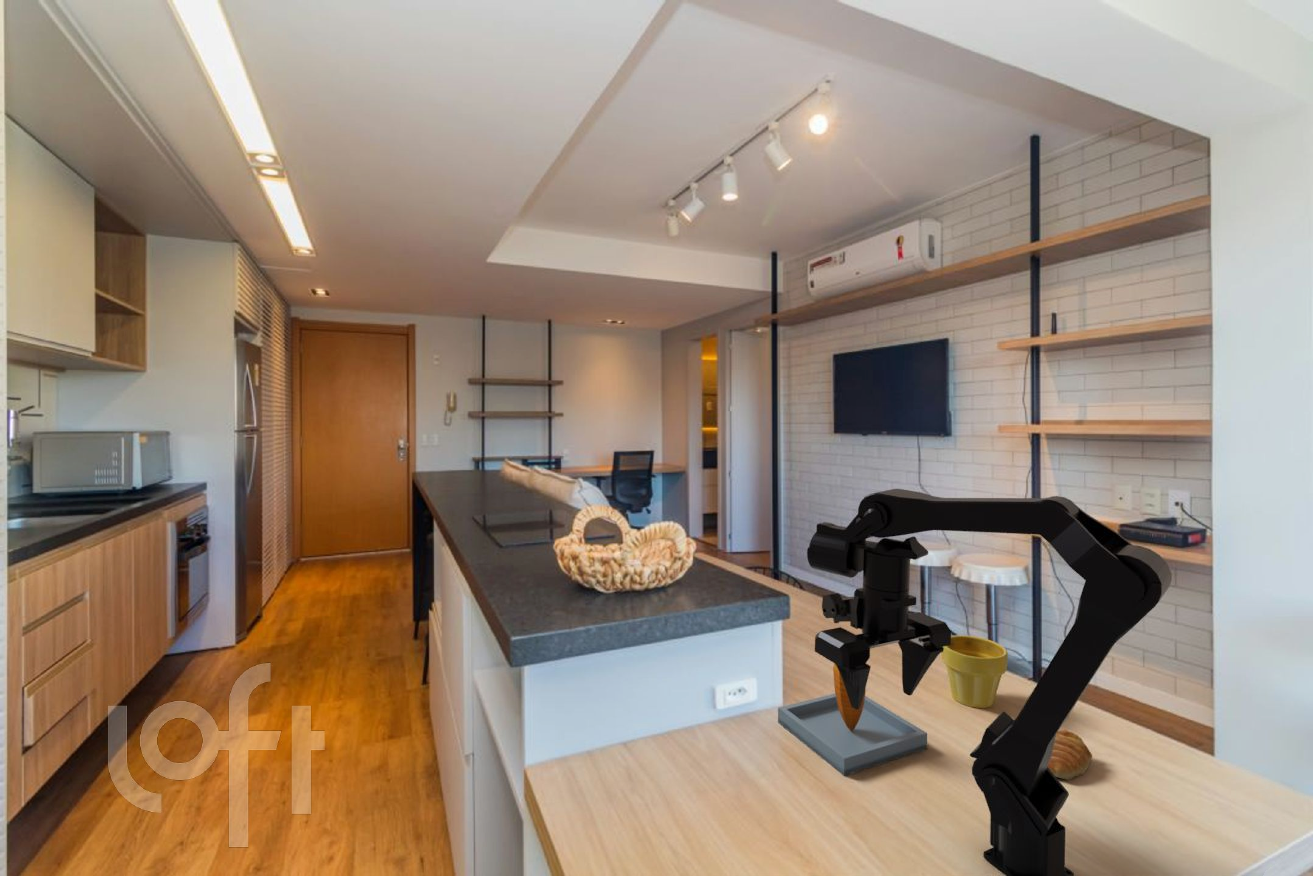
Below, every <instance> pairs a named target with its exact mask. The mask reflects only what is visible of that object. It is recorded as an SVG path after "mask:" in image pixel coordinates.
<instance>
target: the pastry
mask: <svg viewBox="0 0 1313 876" xmlns="http://www.w3.org/2000/svg"><path fill="white" fill-rule="evenodd" d="M1092 759H1093V754H1092V752H1091V751H1090V750H1089V748H1088V746H1087V745H1086V743H1084V741H1083V739H1082V737H1080V736H1079V735H1078V734H1076V733H1074V732H1072V731H1069V730H1067V729H1062V728H1060V729H1059V730H1058V732H1057V734H1056V737H1055V741H1054V746H1053V751H1052V755H1051V758H1050V761H1049V764H1048V768H1049V770H1050V771H1051V772H1052V773H1053V774H1054V776H1055V777H1056V778H1060V779H1062V780H1066V781H1069V780H1071V779H1072V778H1076V777H1078V776H1079V777H1080V776H1083V775H1084V774H1085V772H1086V770H1087V768H1089V765H1090V762H1091V761H1092Z"/></svg>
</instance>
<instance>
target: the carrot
mask: <svg viewBox="0 0 1313 876" xmlns="http://www.w3.org/2000/svg"><path fill="white" fill-rule="evenodd" d="M832 670H833V672H832V673H833V685H834V686H833V687H834V694H836V699H837V704H838V708H839V711H840V714H841V716H842V719H843V720H844V722H845V724H846V726H847V728H848V729H849V730H851V731H852V730H854V729H855V727H856V725H857V723H858V721H859V719H860V716H861V714H862V710H863V705H864V700H865V696H866V688H865V692H864V696H863V700H862V703H861V706H860V709H858V710H856V709H855V708H853V707H852V706H851V704H850V701H849V698H848V695H847V692H846V689H845V686H844V683H843V680H842V677H841V674H840V672H839V670H838V668H837V666H836V665H835V663H833V669H832Z"/></svg>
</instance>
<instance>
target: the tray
mask: <svg viewBox="0 0 1313 876" xmlns="http://www.w3.org/2000/svg"><path fill="white" fill-rule="evenodd" d="M777 723H778V724H780V726H782V727H783V728H784V729H786V730H787V731H788V732H789V733H791V734H792V735H793V736H794V737H796V738H797V739H798V740H799V741H801V742H802V743H803V744H804V745H806V746H807V747H808V748H809V749H811V751H813V752H814V753H815V754H817V755H818V756H819V757H820V758H822V760H824V761H825V762H827V764H829V765H830V766H831V767H832V768H833V769H835V770H837V771H838V772H839V773H840V774H841V775H842V776H844V777H845V776H847V775H850V774H854V773H858V772H860V771H863V770H866V769H870V768H872V767H876V766H878V765H879V766H880V765H881V764H884V763H888V762H891V761H893V760H894V761H895V760H897V759H900V758H904V757H906V756H910V755H912V754H916V753H919V752H922V751H926V750H928V733H927V731H924V730H923V729H921V728H920V727H918V726H916V725H915V724H913V723H911V722H910V721H908V720H906V719H904V718H903V717H901V716H900V715H897V714H896V713H894V712H893V711H892V710H889V709H888V708H886V707H884V706H883V705H881V704H880V703H878V702H876V701H875V700H873V699H871V698H869V697H868V696H866V695H865V700H864V705H863V710H862V714H861V716H860V719H859V721H858V723H857V725H856V727H855V729H854V730H852V731H851V730H849V729H848V728H847V726H846V724H845V722H844V720H843V719H842V716H841V714H840V711H839V708H838V704H837V699H836V694H835V693H832V694H828V695H823V696H819V697H816V698H815V697H814V698H812V699H808V700H803V701H799V702H795V703H791V704H788V705H784V706H779V707H777Z"/></svg>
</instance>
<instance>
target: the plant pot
mask: <svg viewBox="0 0 1313 876" xmlns="http://www.w3.org/2000/svg"><path fill="white" fill-rule="evenodd" d="M943 648H944V651H943V652H942V653H940V654H941V655H940V656H941V660H942V662H943V664H945V667H946V671H947V678H948V683H949V688H950V692H951V697H952V698H953V700H955V701H956V702H957V703H959V704H962V705H964V706H967V707H971V708H976V709H987V708H990V707H992V706H994V703H995V699H996V695H997V692H998V688H999V686H1000V682H1001V678H1002V676H1003V675H1004V674H1005V673H1006V672H1007V671H1008V670H1007V669H1008V651H1007V649H1006V648H1005V647H1004V646H1003V645H1002V644H1000V643H998V642H996V641H993V640H990V639H987V638H984V637H979V636H975V635H963V634H962V635H960V634H958V635H951V645H948V646H944V647H943Z"/></svg>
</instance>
